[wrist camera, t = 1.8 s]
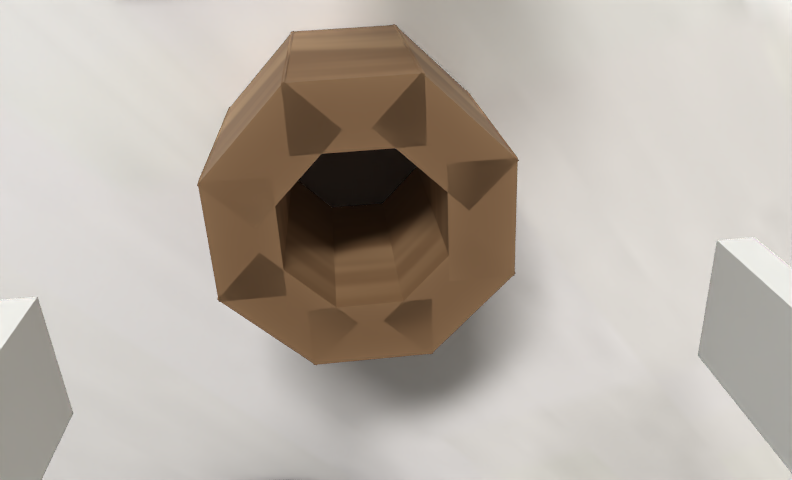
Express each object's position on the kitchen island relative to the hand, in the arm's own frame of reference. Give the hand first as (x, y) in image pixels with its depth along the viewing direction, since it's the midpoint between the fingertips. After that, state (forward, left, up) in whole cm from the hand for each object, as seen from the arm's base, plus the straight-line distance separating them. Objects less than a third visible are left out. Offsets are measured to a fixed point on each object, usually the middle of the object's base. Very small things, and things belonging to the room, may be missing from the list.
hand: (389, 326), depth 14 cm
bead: (0, 0, -12) cm, 12 cm away
